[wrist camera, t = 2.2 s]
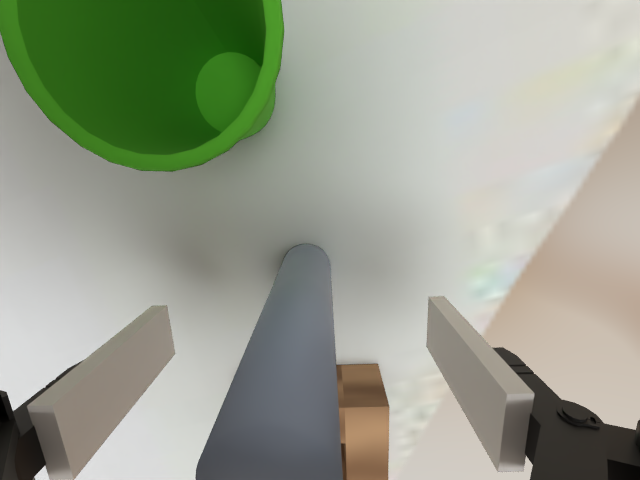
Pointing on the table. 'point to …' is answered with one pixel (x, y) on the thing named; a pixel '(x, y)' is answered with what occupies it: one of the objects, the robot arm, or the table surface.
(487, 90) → the table surface
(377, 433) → the wooden socket block
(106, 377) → the robot arm
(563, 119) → the table surface
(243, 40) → the cup
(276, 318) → the blue-grey rounded rod
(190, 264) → the table surface
